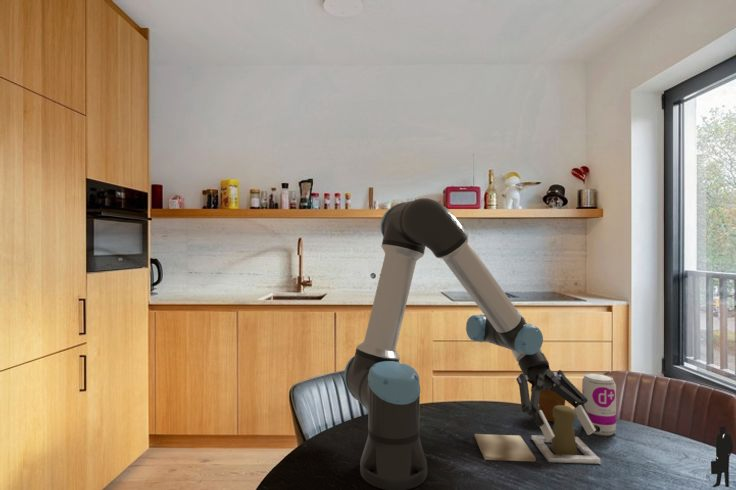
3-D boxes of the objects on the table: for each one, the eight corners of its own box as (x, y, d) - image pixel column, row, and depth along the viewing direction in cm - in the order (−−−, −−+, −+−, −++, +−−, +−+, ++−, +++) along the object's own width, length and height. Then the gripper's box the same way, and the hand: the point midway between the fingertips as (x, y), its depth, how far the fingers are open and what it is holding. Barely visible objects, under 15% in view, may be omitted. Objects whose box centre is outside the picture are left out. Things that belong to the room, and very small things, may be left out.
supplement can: (620, 438, 109) (620, 382, 110) (587, 435, 111) (587, 380, 111) (609, 425, 117) (609, 373, 118) (578, 422, 119) (578, 371, 119)
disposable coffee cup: (528, 412, 127) (528, 373, 127) (555, 410, 128) (555, 372, 129) (546, 425, 117) (546, 383, 118) (576, 422, 119) (576, 381, 119)
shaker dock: (548, 462, 97) (548, 457, 97) (531, 438, 109) (531, 435, 109) (600, 463, 96) (600, 459, 96) (577, 440, 108) (577, 436, 108)
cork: (546, 449, 103) (546, 406, 103) (557, 442, 106) (557, 400, 107) (570, 459, 98) (570, 413, 98) (581, 451, 102) (581, 407, 102)
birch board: (484, 459, 97) (484, 456, 97) (474, 437, 109) (474, 434, 109) (535, 461, 97) (535, 458, 97) (519, 438, 109) (520, 435, 109)
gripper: (558, 361, 121) (601, 435, 106) (487, 367, 114) (523, 447, 99) (571, 347, 116) (619, 423, 101) (498, 353, 109) (538, 435, 94)
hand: (571, 435), depth 100 cm, fingers open, 12 cm apart
